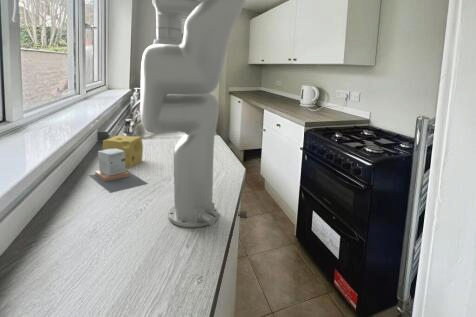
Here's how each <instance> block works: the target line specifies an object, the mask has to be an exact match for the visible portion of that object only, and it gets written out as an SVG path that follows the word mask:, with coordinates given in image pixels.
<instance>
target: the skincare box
mask: <svg viewBox="0 0 476 317" xmlns="http://www.w3.org/2000/svg"><path fill="white" fill-rule="evenodd" d="M97 158H98V168H99V169H98V170H99V171H100V172H101V173H104V174H106V175H109V176H112V175H115V174H119V173H123V172H125V171H126V170H127V169H126V168H125V151H123V150H119V149H116V148H112V149H106V150H103V149H102V150H98V151H97Z"/></svg>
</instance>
